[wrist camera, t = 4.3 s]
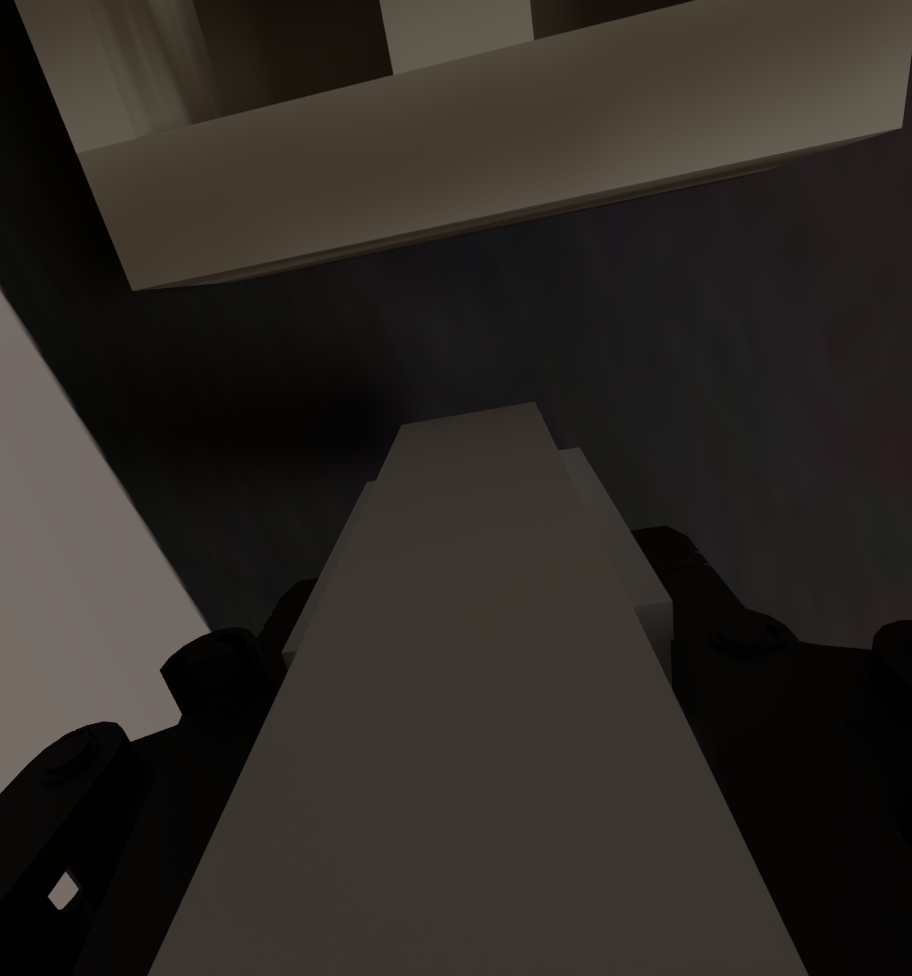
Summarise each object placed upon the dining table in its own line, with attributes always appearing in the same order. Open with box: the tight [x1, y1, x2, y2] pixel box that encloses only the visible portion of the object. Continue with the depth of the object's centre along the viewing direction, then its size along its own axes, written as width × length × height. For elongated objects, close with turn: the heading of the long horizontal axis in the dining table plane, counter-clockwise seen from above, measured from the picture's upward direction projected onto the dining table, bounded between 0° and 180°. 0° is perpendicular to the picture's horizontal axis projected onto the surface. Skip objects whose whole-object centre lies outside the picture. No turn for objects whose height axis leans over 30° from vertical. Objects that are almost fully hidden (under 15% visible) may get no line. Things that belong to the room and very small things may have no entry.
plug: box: [148, 402, 809, 976], centre depth 10 cm, size 4×4×14 cm
